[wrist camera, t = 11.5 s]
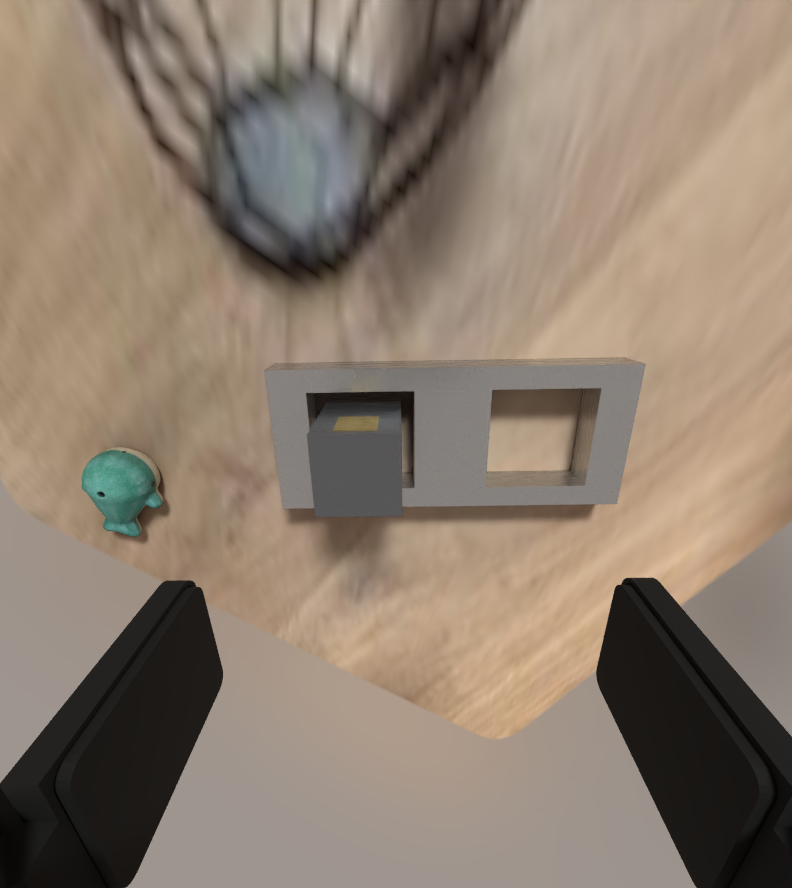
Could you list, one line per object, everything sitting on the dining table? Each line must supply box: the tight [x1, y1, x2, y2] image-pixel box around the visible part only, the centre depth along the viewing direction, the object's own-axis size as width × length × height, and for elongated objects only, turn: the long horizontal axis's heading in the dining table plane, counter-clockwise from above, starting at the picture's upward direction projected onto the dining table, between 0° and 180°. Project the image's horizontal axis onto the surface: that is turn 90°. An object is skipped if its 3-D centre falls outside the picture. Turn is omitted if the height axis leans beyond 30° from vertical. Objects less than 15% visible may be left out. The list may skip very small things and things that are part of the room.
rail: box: [264, 358, 646, 509], centre depth 28 cm, size 24×10×2 cm, turn 91°
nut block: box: [307, 396, 402, 517], centre depth 26 cm, size 5×5×8 cm
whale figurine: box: [82, 447, 164, 537], centre depth 30 cm, size 6×7×4 cm
